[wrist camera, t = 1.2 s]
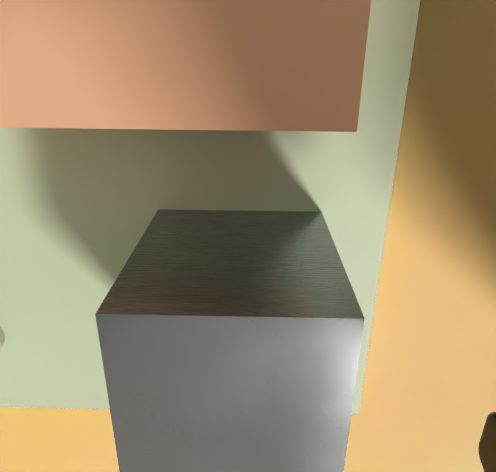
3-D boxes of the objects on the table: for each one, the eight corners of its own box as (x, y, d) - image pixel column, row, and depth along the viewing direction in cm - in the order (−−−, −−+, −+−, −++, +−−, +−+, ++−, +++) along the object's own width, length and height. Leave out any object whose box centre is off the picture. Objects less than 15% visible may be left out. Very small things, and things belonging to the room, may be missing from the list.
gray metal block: (321, 211, 12) (364, 318, 7) (310, 345, 13) (339, 500, 9) (158, 209, 12) (95, 314, 7) (168, 342, 13) (123, 495, 9)
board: (434, -202, 9) (586, -415, 5) (352, 392, 15) (387, 518, 11) (-416, -204, 9) (-966, -411, 5) (-148, 382, 16) (-293, 503, 11)
